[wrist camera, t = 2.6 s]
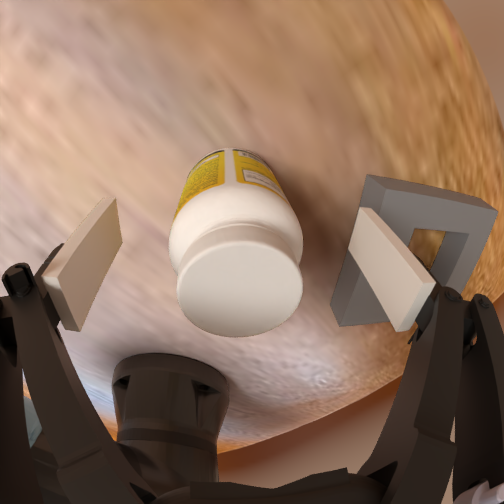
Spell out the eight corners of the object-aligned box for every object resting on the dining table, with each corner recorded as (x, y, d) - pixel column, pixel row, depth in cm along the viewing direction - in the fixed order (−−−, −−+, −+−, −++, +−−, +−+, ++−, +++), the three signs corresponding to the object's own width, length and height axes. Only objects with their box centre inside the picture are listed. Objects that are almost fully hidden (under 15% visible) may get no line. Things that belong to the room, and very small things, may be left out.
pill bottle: (192, 231, 21) (174, 353, 12) (181, 150, 17) (134, 229, 8) (275, 225, 21) (313, 341, 12) (275, 143, 18) (333, 214, 9)
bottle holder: (437, 296, 28) (449, 312, 26) (329, 304, 26) (339, 326, 24) (479, 198, 21) (498, 211, 19) (366, 174, 19) (386, 188, 17)
